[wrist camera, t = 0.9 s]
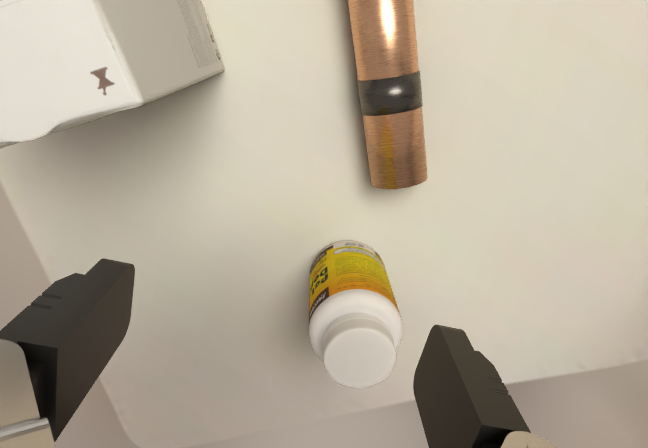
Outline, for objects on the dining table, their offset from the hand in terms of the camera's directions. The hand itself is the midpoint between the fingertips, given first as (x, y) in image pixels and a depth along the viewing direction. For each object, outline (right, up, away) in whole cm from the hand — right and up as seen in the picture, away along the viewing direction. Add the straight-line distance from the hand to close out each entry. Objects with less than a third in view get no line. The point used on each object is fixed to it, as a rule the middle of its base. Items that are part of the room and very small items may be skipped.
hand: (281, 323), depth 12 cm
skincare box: (-10, +14, +16) cm, 23 cm away
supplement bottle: (+3, -1, +22) cm, 22 cm away
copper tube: (+4, +14, +16) cm, 22 cm away
